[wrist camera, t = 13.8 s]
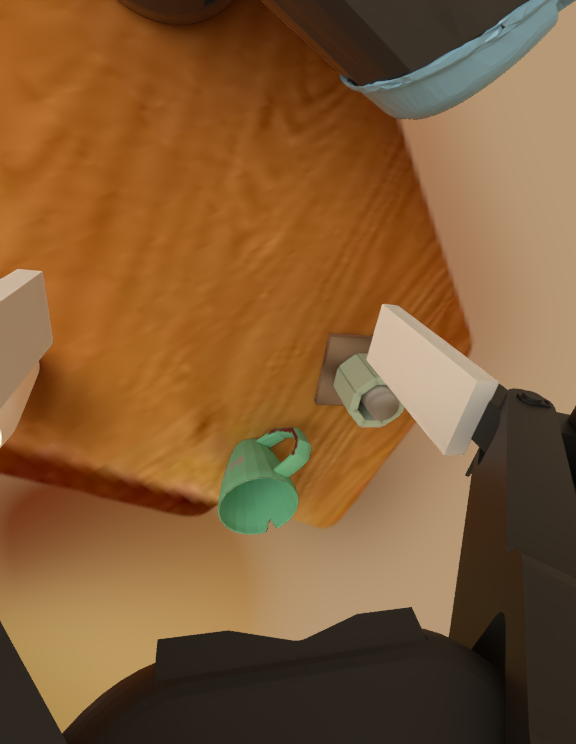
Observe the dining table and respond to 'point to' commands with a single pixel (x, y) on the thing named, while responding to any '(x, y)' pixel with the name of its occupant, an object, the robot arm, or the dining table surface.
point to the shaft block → (337, 352)
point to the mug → (261, 483)
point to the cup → (16, 405)
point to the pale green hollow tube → (359, 389)
